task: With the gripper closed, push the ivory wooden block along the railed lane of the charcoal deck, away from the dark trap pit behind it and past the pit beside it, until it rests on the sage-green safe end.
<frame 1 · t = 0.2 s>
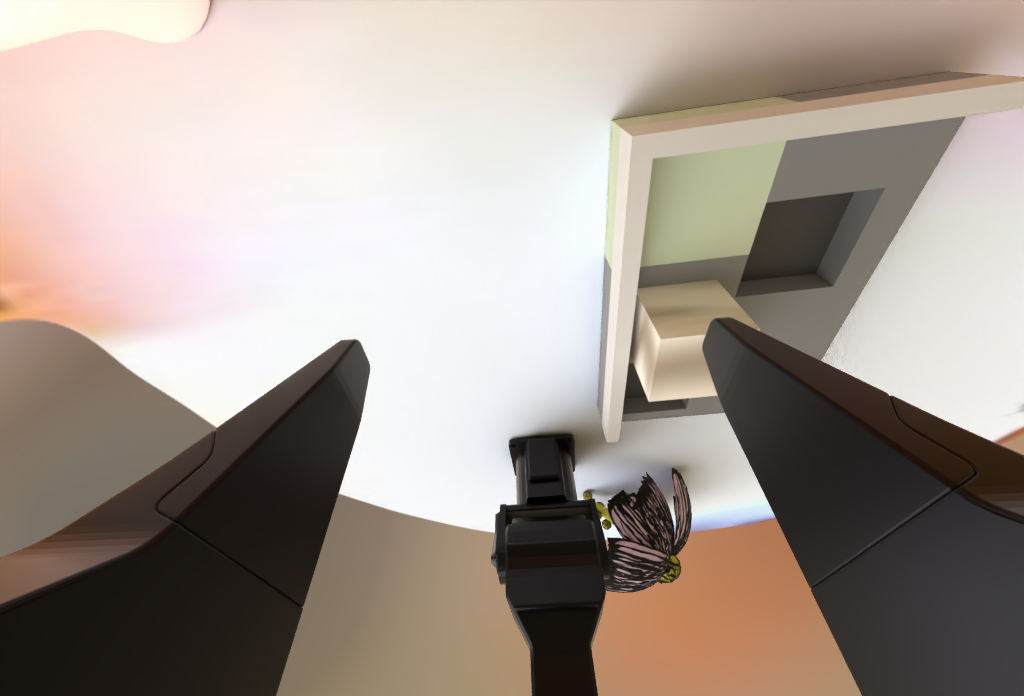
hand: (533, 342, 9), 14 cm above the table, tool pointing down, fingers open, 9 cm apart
trap deck: (718, 290, 25), on the table
ivory block: (668, 316, 24), point 2 cm above the table, touching trap deck
decorative flower: (622, 487, 43), on the table
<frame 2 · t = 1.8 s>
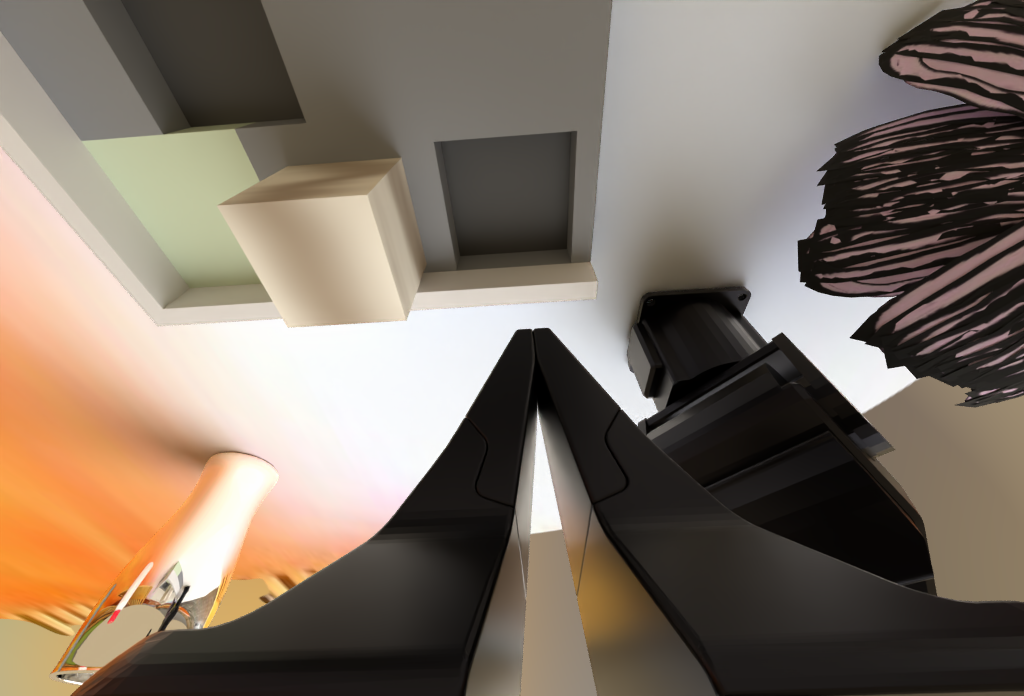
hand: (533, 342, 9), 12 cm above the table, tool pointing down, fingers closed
beer glass: (246, 467, 35), on the table
trap deck: (341, 114, 16), on the table
ivory block: (363, 219, 17), point 2 cm above the table, touching trap deck
decorative flower: (900, 175, 18), on the table
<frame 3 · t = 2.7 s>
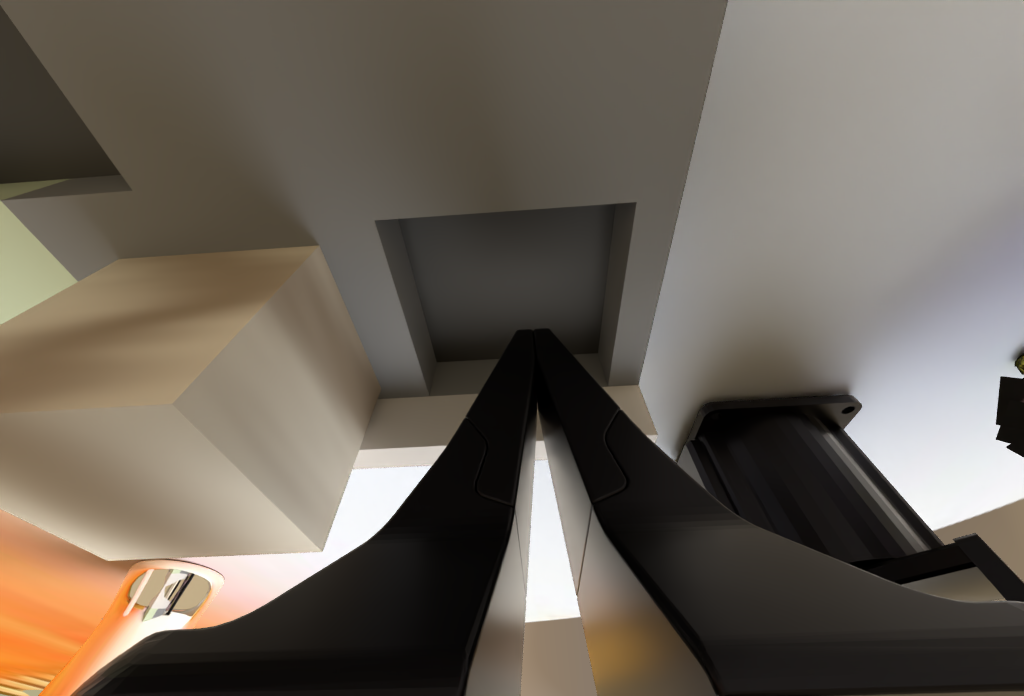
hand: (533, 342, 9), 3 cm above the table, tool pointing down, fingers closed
beer glass: (182, 571, 28), on the table
trap deck: (221, 164, 9), on the table
ivory block: (269, 333, 10), point 2 cm above the table, touching trap deck
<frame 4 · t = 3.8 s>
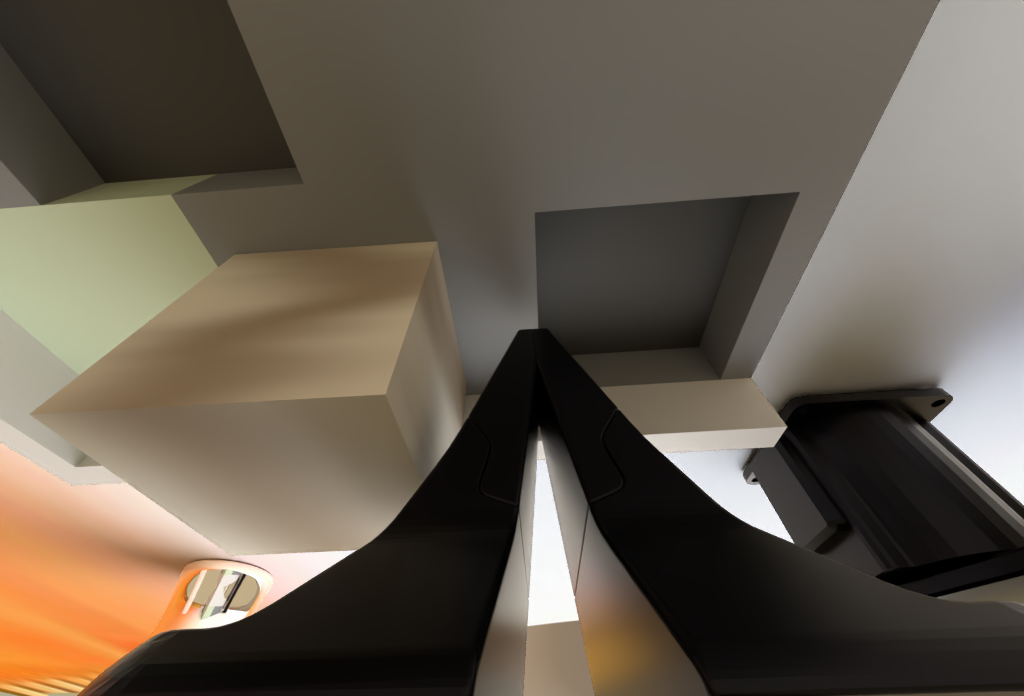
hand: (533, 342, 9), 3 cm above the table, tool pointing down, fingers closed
beer glass: (232, 571, 28), on the table
trap deck: (364, 159, 9), on the table
ivory block: (367, 329, 10), point 2 cm above the table, touching gripper
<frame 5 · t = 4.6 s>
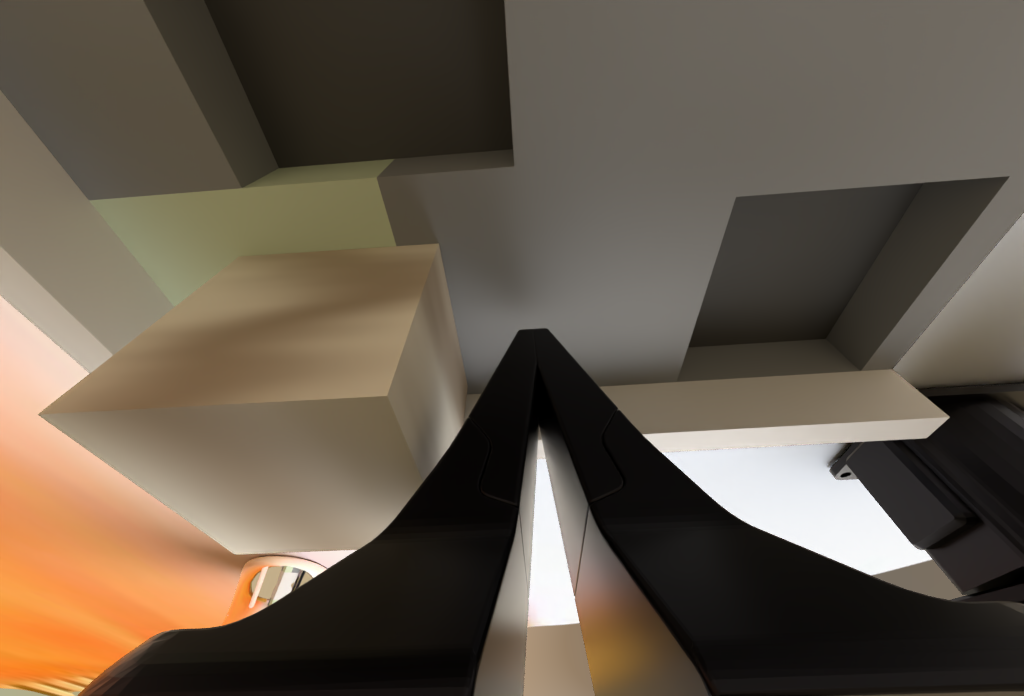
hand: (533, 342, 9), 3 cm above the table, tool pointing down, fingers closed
beer glass: (290, 567, 28), on the table
trap deck: (541, 144, 9), on the table
ivory block: (370, 330, 10), point 2 cm above the table, touching gripper
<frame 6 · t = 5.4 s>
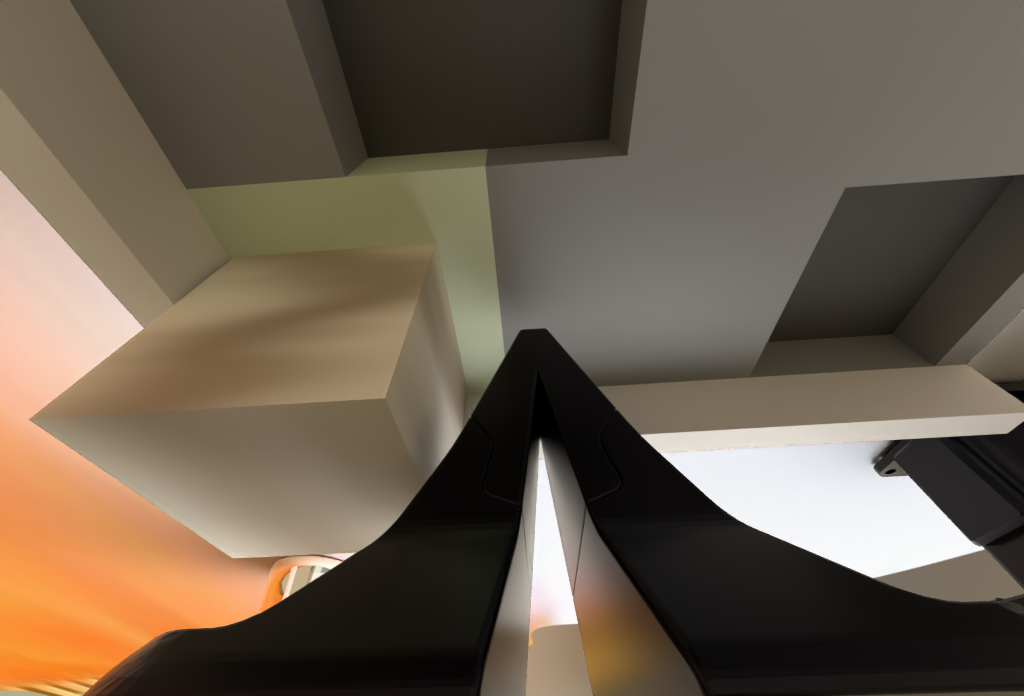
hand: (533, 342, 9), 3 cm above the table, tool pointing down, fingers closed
beer glass: (318, 567, 27), on the table
trap deck: (636, 134, 9), on the table
ivory block: (367, 331, 10), point 2 cm above the table, touching gripper, trap deck
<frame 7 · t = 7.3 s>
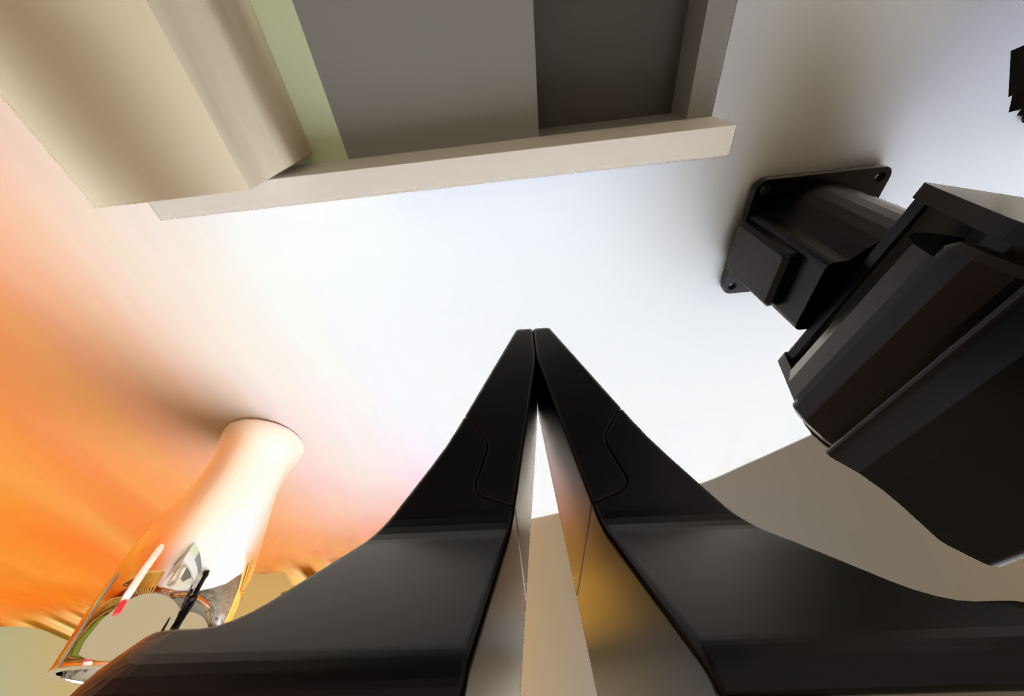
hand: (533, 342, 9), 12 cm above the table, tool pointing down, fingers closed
beer glass: (267, 438, 31), on the table
ivory block: (216, 85, 13), point 2 cm above the table, touching trap deck
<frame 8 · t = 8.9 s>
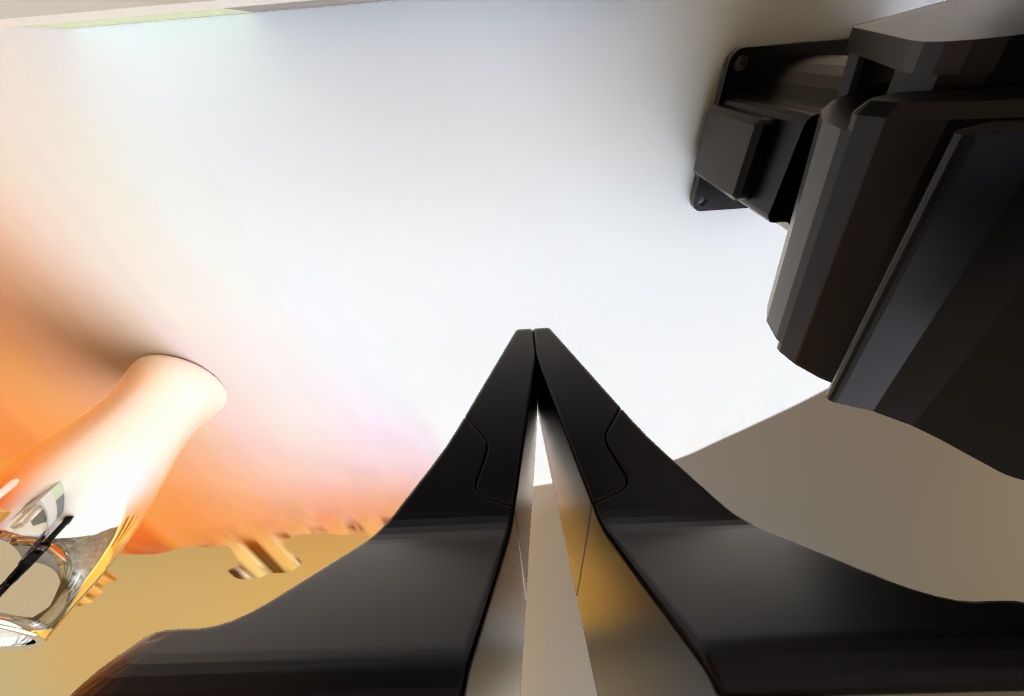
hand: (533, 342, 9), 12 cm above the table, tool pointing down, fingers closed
beer glass: (184, 382, 27), on the table
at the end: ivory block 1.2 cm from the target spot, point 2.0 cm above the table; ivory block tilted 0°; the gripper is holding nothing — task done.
